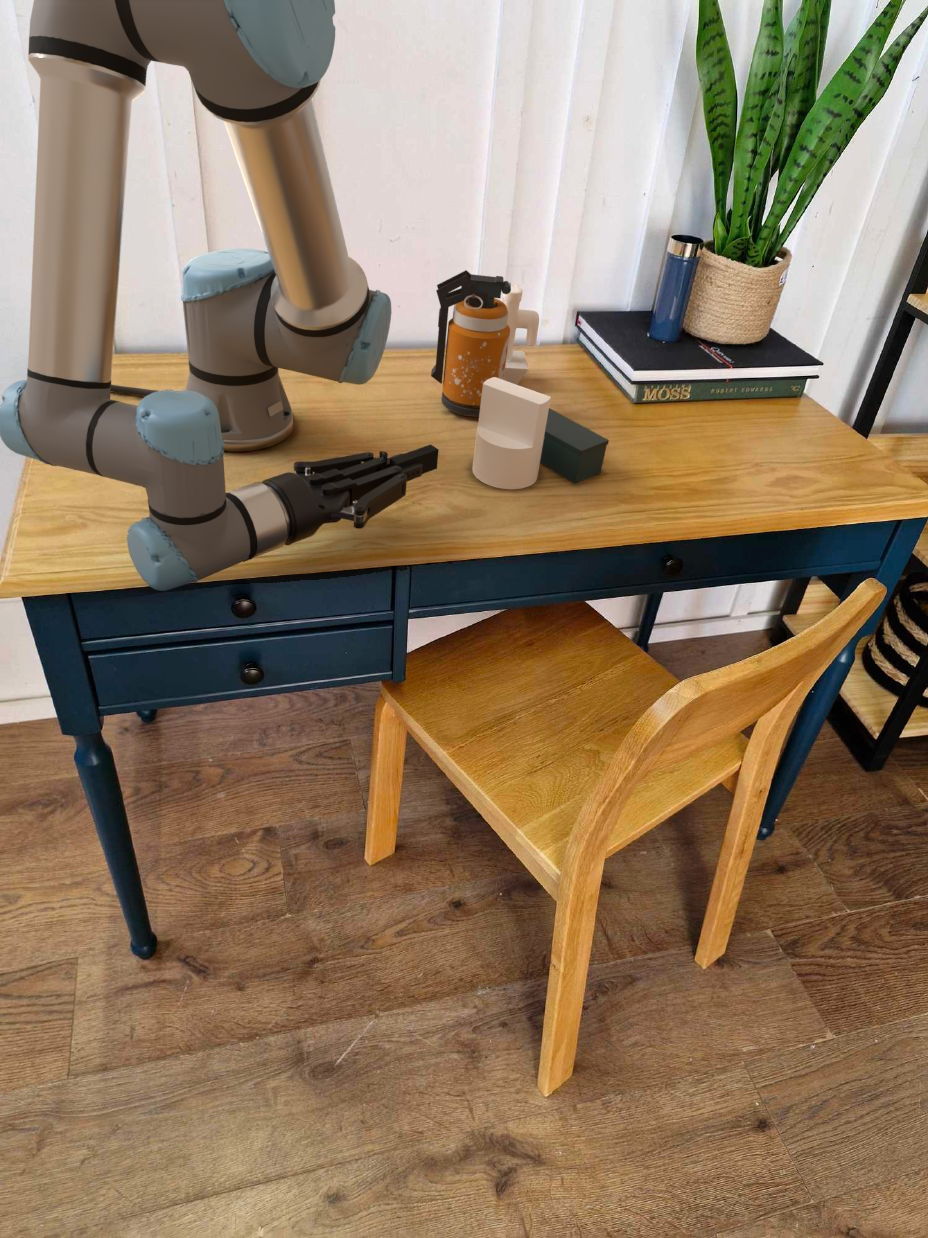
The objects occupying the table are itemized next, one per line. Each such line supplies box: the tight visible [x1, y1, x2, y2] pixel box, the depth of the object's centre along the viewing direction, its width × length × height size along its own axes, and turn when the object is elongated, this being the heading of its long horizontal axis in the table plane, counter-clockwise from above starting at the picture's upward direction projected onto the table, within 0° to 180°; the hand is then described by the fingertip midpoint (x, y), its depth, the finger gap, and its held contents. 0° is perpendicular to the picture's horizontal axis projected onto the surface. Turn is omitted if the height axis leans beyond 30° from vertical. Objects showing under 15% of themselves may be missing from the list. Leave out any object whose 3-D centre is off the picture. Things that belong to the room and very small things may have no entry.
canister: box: [430, 269, 512, 418], centre depth 134 cm, size 9×11×20 cm
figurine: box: [502, 283, 540, 385], centre depth 145 cm, size 7×9×15 cm
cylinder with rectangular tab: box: [471, 377, 552, 490], centre depth 122 cm, size 9×9×12 cm
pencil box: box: [540, 407, 610, 484], centre depth 129 cm, size 15×6×5 cm, turn 43°
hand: (433, 456), depth 114 cm, fingers closed
